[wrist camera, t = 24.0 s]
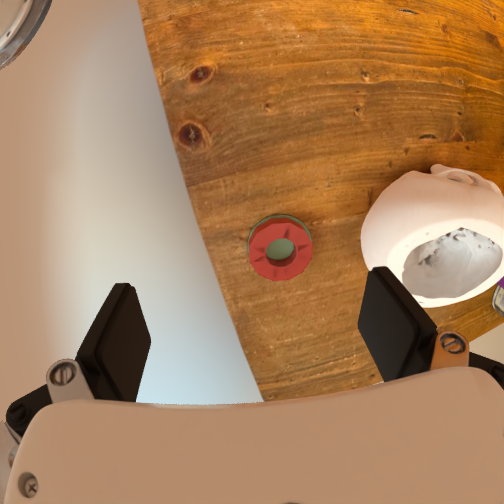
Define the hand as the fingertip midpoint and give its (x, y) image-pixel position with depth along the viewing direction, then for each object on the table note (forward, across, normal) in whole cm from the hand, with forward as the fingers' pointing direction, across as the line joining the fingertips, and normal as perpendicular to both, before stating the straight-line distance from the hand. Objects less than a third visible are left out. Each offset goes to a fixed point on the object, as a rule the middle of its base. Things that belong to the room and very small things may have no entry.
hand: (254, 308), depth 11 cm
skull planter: (+23, -23, +4) cm, 33 cm away
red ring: (+22, -4, +8) cm, 24 cm away
